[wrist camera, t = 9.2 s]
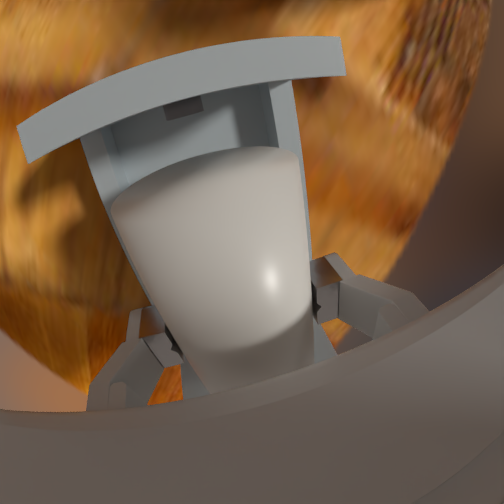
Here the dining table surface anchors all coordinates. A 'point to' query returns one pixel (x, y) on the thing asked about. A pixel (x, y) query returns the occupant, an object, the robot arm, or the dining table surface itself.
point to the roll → (226, 261)
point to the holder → (188, 121)
